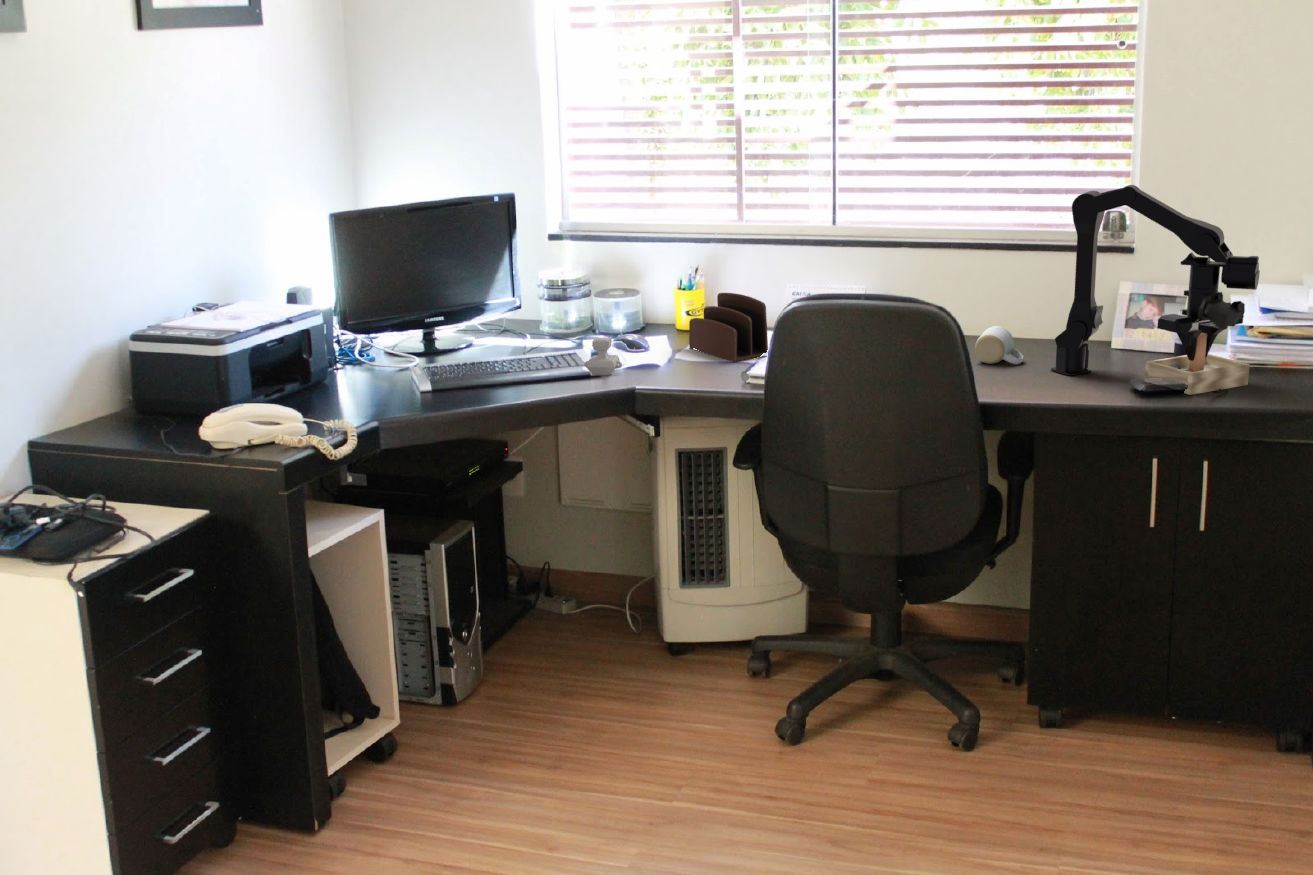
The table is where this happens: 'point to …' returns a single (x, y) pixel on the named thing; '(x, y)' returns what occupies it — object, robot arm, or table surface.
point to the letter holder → (731, 328)
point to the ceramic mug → (997, 346)
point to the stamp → (602, 358)
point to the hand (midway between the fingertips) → (1197, 359)
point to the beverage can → (1179, 342)
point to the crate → (1200, 373)
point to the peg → (1199, 354)
